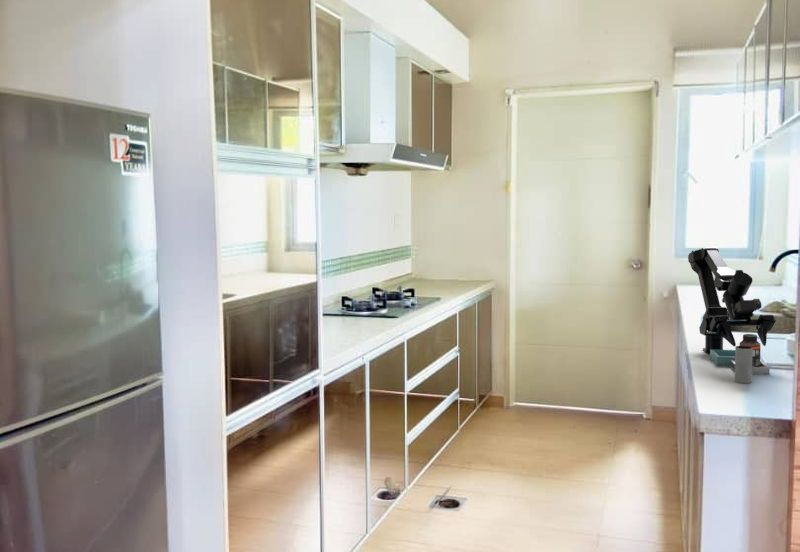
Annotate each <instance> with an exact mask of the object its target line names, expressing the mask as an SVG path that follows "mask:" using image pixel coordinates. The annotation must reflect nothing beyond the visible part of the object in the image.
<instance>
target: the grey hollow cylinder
mask: <svg viewBox="0 0 800 552" xmlns="http://www.w3.org/2000/svg"><path fill="white" fill-rule="evenodd" d="M734 347H735V348H734V350H735V371H734V381H735V383H740V384H751V383H752V382H753V381H752V380H753V374H752V350H753V348H752V347H750V346H739V345H737V346H734Z"/></svg>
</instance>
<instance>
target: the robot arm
mask: <svg viewBox="0 0 800 552" xmlns="http://www.w3.org/2000/svg"><path fill="white" fill-rule="evenodd" d="M719 252H720V251H719V248H718V247H716V246H707V247H706V246H705V247H702V248H699V249H695V250H694V249H693V250H691V252H690V253H688V256H687V262H688V263H689V265H690V268H691V270H692V271H694V272H695V274H697V275H698V281H699V285H700V289H701V293H702V294H701V295H702V299H703V302H704V306H705V312H704V313H703V316H702V321H701V323H700V325H699V334H701V335H703V336H705V338H704V339H705V344H704V346H705V347H703V348H702V351H703V352H705V354H710V350H724V340H726V341H727V342H728V343H729V344H730V345H731V346H732V347H736V345H737V344H736V343H737V342H736V339H735V337H734V334H733V332H732V330H731V328H732V327H755V328H756V330H757V331H756V334H757V337H759V340H760V343H761V344H762V345H763V347H766V345H767V335H768V332H770V331H771V330H772V328H773V326H774V325H775V323H776V322H777V320H776V317H775V316H774V315H773V314H760V315H759V317H758V319H752V317H754V316H755V315H754V312H756V311H757V310H760V309H761V308H762V302H761V300H760V298H753V299H747V300H745V299H744V296H747V293H748V291H749V289H750V287H751V285H752V283H753V278H752V277H751V275H750V274H748V273H746V272H744V270H743V269H736V270H734V269H731V268H729V267H728V265H727V264H726V262H725V261H724V259H723V258H722V256H721V254H720V253H719ZM717 291H719V292H723V293H722V299H721V302H722V303H724V304H725V306H721V303H720V300H719V295H718V292H717Z"/></svg>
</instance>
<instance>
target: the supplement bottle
mask: <svg viewBox="0 0 800 552" xmlns="http://www.w3.org/2000/svg"><path fill="white" fill-rule="evenodd" d="M738 346H750V347H752V348H753V350H752V367H760V361H761V342H759V341H758V334H753V333H744V334H742V340H741V341H740V342H739V344H738Z"/></svg>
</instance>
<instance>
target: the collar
mask: <svg viewBox="0 0 800 552" xmlns="http://www.w3.org/2000/svg"><path fill="white" fill-rule="evenodd" d="M729 367H730V368H731V369H732V370H733V372H735V360H730V366H729ZM770 369H771V368H770V366H769V365H767V364H766V363H765V362H763V361H762V360H760V367H752V375H770V374H771V373H770Z"/></svg>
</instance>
